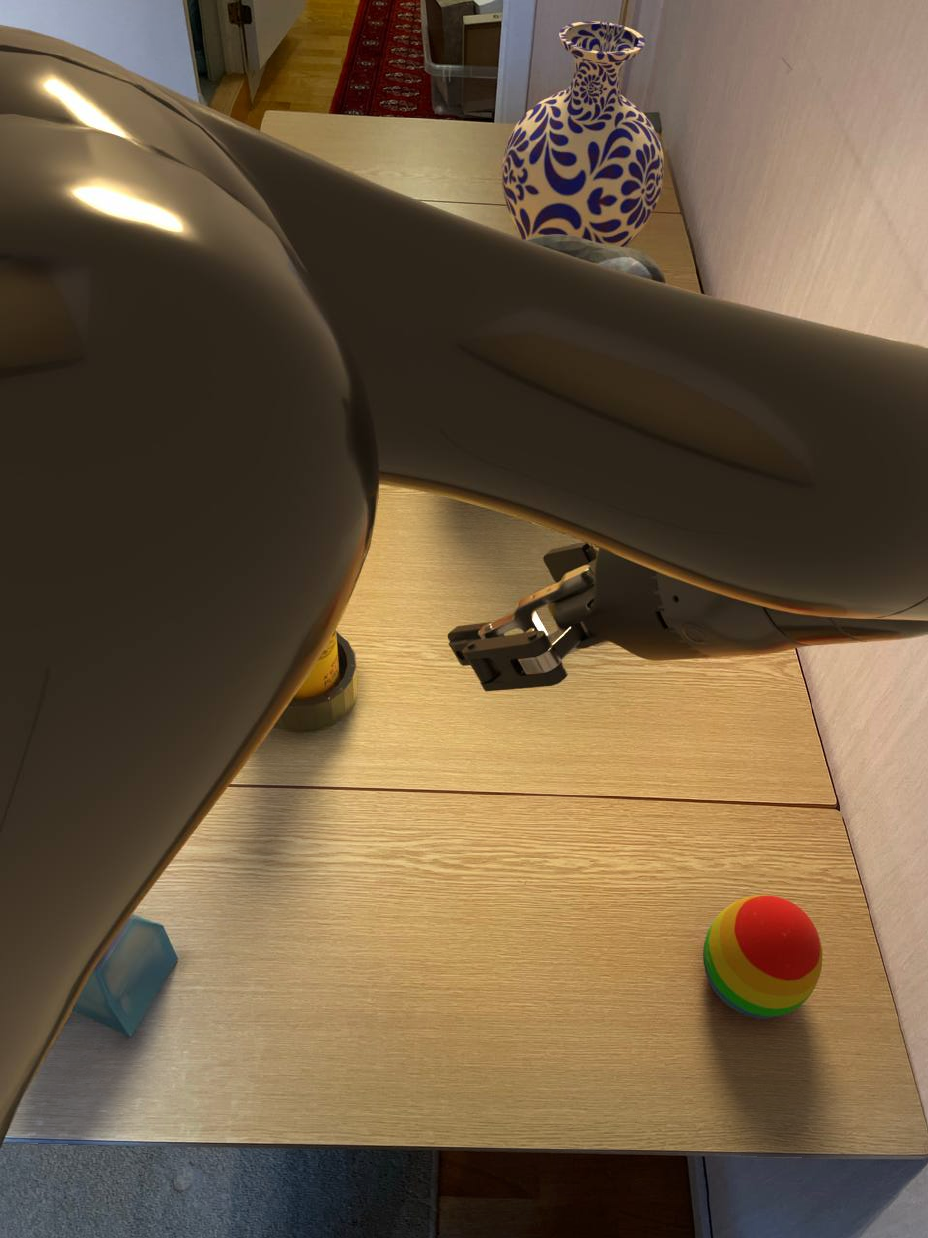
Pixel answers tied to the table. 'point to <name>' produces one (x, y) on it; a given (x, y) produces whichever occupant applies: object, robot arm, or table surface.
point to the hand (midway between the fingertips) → (507, 605)
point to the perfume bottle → (128, 976)
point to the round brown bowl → (325, 698)
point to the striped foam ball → (763, 956)
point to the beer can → (322, 674)
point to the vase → (586, 149)
